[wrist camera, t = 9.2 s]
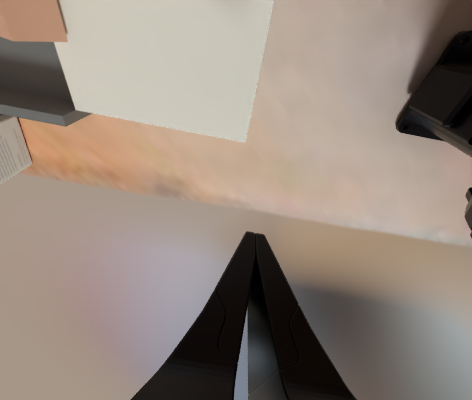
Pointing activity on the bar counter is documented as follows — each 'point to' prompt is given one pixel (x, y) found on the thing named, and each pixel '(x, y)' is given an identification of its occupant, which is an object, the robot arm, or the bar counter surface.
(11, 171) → the skincare box
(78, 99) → the plate
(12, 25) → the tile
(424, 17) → the bar counter surface
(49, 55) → the tray
